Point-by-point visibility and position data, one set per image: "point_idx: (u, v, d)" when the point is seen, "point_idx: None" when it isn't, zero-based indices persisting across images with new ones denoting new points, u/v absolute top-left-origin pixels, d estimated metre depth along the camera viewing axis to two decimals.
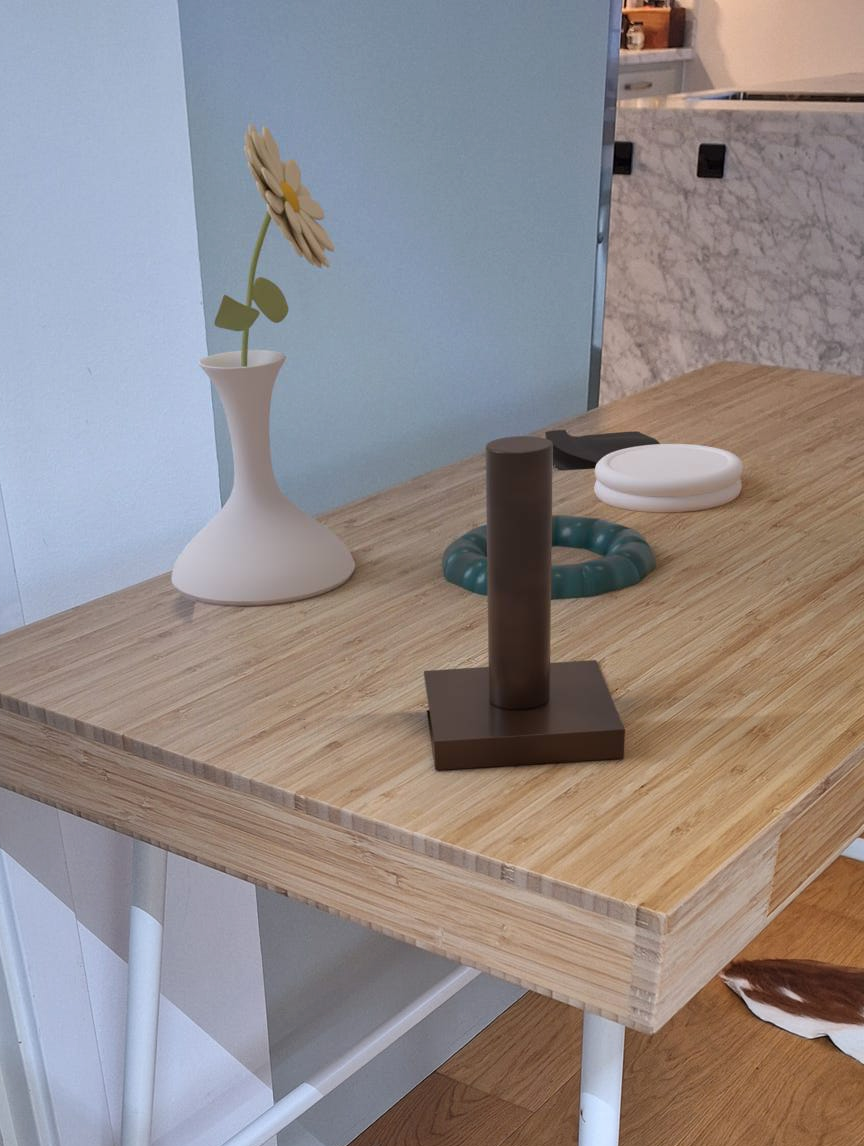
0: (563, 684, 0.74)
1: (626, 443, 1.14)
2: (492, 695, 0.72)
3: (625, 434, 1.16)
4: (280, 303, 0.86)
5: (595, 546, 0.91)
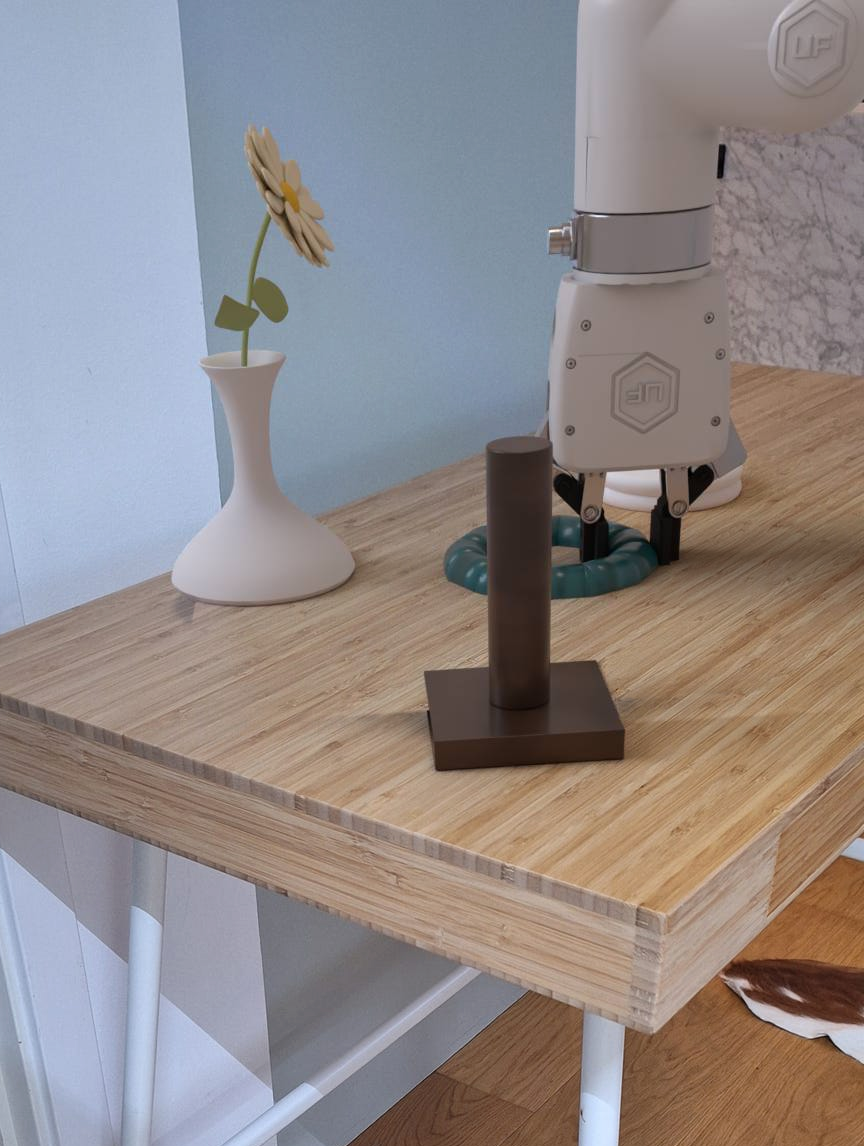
0: (563, 684, 0.74)
1: None
2: (492, 695, 0.72)
3: None
4: (280, 303, 0.86)
5: None
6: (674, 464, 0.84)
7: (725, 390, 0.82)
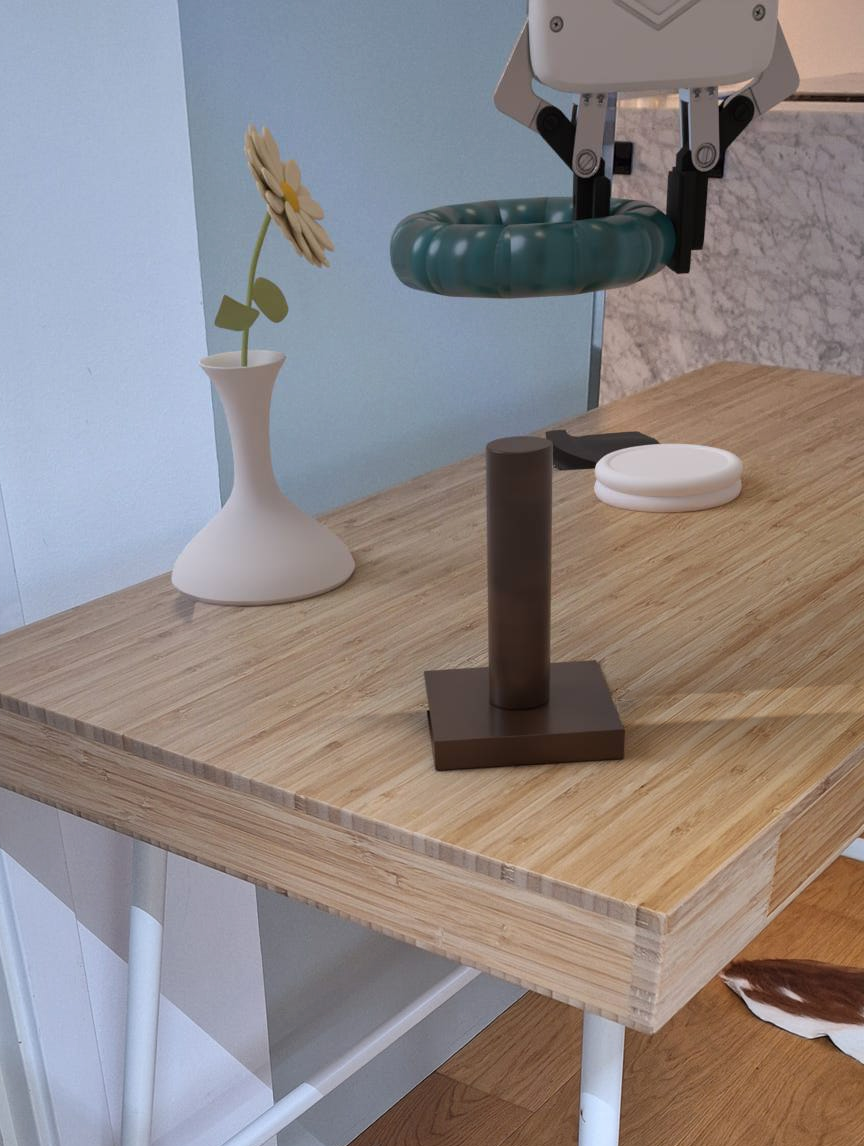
0: (563, 684, 0.74)
1: (626, 443, 1.14)
2: (492, 695, 0.72)
3: (625, 434, 1.16)
4: (280, 303, 0.86)
5: None
6: (700, 80, 0.61)
7: None
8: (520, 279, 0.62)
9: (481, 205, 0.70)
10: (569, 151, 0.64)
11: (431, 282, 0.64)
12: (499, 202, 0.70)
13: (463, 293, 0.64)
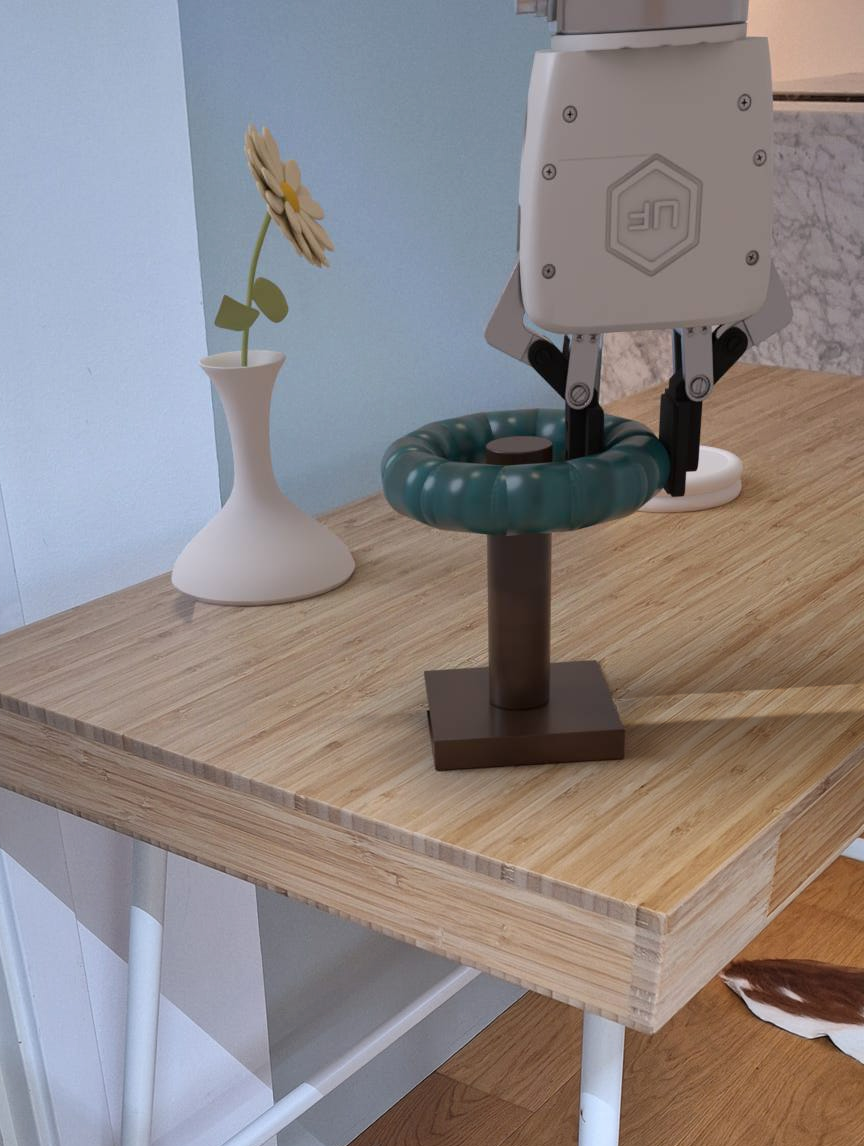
0: (563, 684, 0.74)
1: None
2: (492, 695, 0.72)
3: None
4: (280, 303, 0.86)
5: None
6: (694, 321, 0.61)
7: (766, 212, 0.58)
8: (517, 521, 0.61)
9: (471, 420, 0.69)
10: (561, 383, 0.64)
11: (426, 518, 0.63)
12: (489, 416, 0.69)
13: (458, 530, 0.63)
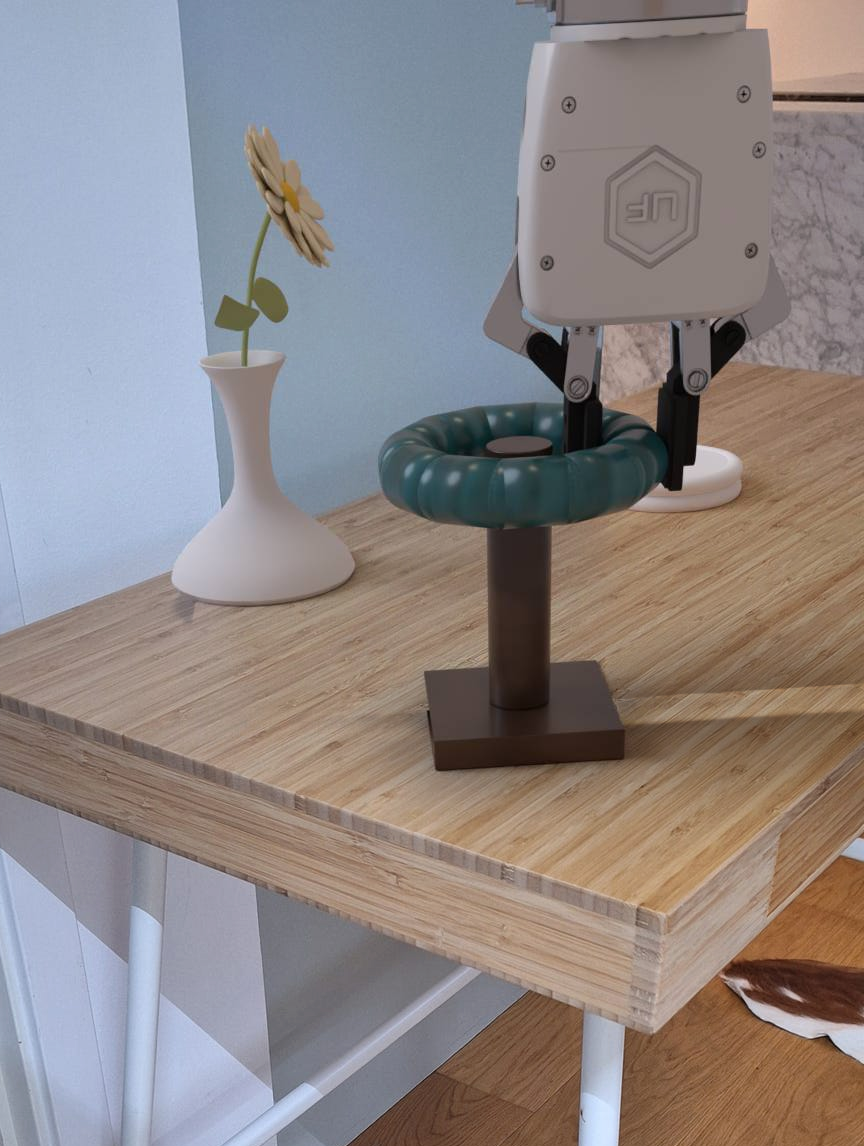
0: (563, 684, 0.74)
1: None
2: (492, 695, 0.72)
3: None
4: (280, 303, 0.86)
5: None
6: (692, 314, 0.60)
7: (765, 204, 0.58)
8: (515, 514, 0.61)
9: (469, 414, 0.69)
10: (560, 376, 0.63)
11: (423, 511, 0.63)
12: (487, 409, 0.69)
13: (456, 523, 0.63)
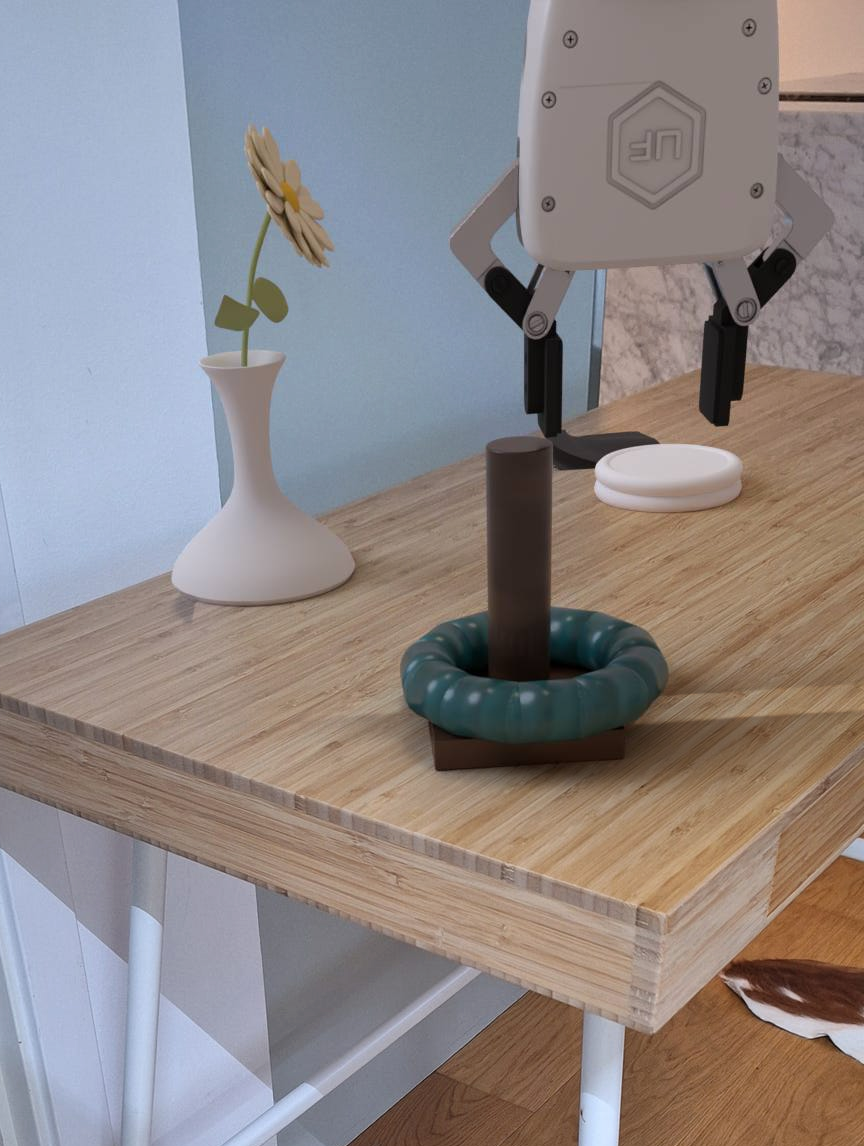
0: None
1: (626, 443, 1.14)
2: None
3: (625, 434, 1.16)
4: (280, 303, 0.86)
5: (591, 647, 0.73)
6: (697, 257, 0.59)
7: (771, 142, 0.57)
8: (530, 734, 0.67)
9: (482, 620, 0.74)
10: (523, 306, 0.62)
11: (445, 726, 0.69)
12: None
13: (475, 737, 0.68)
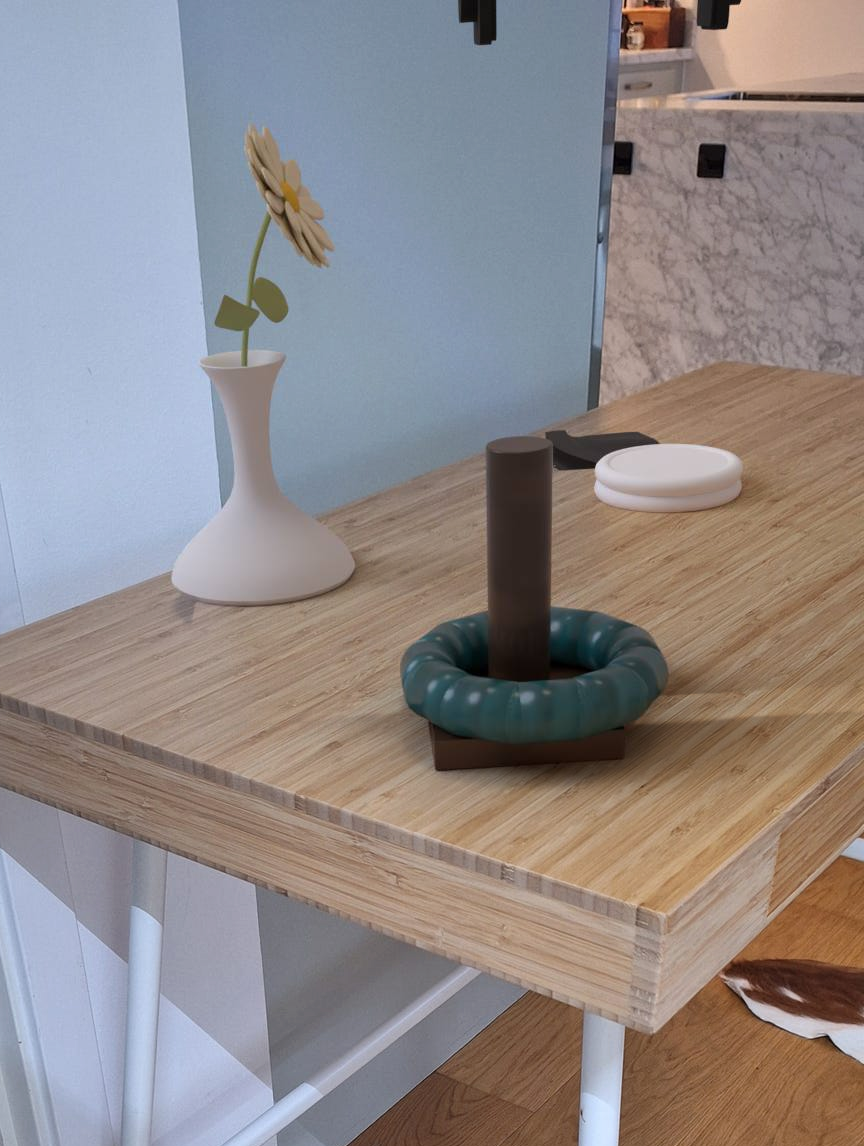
0: None
1: (626, 443, 1.14)
2: None
3: (625, 434, 1.16)
4: (280, 303, 0.86)
5: (591, 647, 0.73)
6: None
7: None
8: (530, 734, 0.67)
9: (482, 620, 0.74)
10: None
11: (445, 726, 0.69)
12: None
13: (475, 737, 0.68)
